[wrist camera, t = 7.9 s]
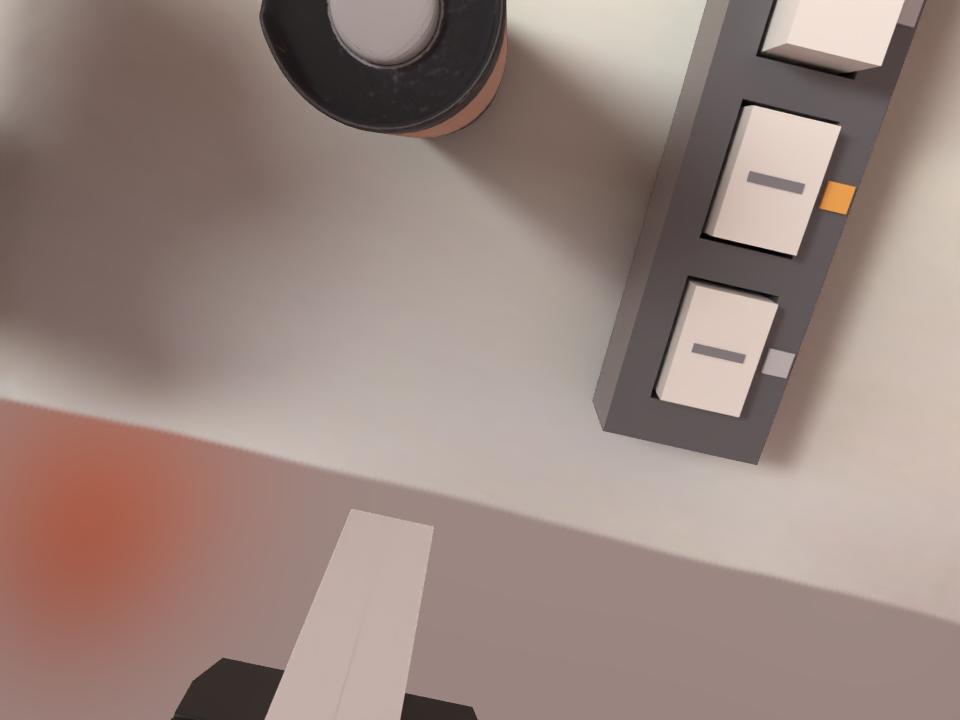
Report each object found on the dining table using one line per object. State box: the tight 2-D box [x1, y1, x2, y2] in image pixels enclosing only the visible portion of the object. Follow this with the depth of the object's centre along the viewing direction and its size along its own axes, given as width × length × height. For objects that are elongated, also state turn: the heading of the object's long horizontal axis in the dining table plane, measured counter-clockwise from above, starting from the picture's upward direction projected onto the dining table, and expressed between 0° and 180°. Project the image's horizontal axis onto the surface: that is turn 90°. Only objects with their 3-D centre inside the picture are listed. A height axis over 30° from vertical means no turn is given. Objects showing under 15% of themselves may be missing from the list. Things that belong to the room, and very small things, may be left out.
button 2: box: [702, 105, 841, 256], centre depth 39 cm, size 4×6×5 cm
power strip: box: [593, 0, 926, 465], centre depth 39 cm, size 9×36×5 cm, turn 167°
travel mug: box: [259, 0, 507, 138], centre depth 32 cm, size 8×8×20 cm
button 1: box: [653, 275, 778, 417], centre depth 42 cm, size 4×6×5 cm
